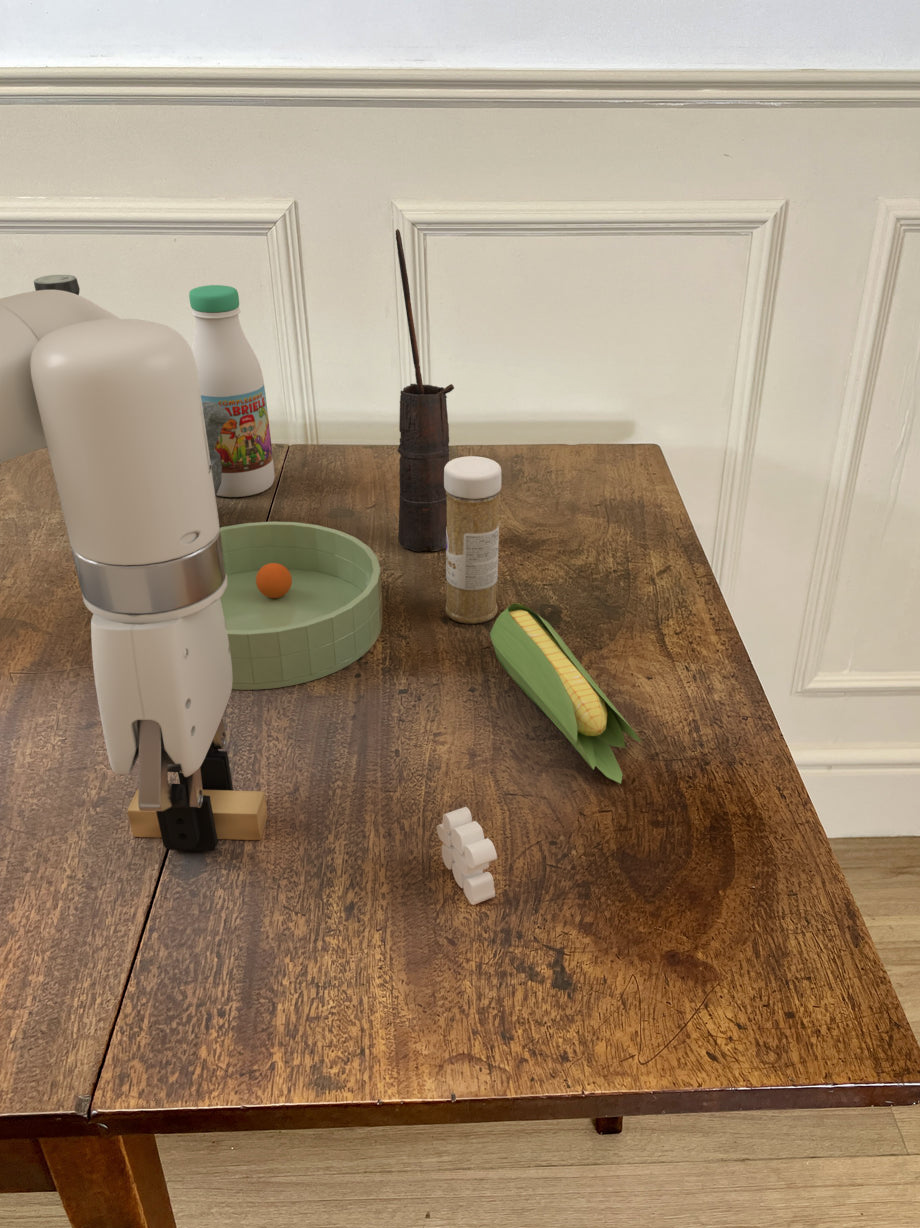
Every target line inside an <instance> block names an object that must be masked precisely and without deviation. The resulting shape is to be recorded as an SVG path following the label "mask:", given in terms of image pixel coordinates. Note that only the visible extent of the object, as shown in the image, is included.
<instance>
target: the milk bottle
mask: <svg viewBox="0 0 920 1228" xmlns="http://www.w3.org/2000/svg"><path fill="white" fill-rule="evenodd" d="M188 298H189V299H188V300H189V304H190V307H191V315H192V316H194V324H195V325H194V333H193V339H192V343H191V346H190V348H191V350H192V352H193V355H194V358H195V362H196V367H197V373H198V379H199V386H200V393H201V400H202V403H203V402H205V401H209V402H214V403H216V404H218V405H220V406H222V407H223V408H225V409H226V410H227V411H228V413H229V414H230V418H229V420H228V422H226V423H225V424H224V425H223V427H222V430H221V433H220V435H219V438H218V441H217V443H216V446H215V450H216V451H217V452H218V453H219V454H220V458H221V465H222V478H221V485H220V487H219V490H218V492H217V494H216V496H218V497H225V498H239V497H240V498H241V497H249V496H254V495H257V494H260V493H263V492H265V491H266V490H268V489H270V488H271V487H272V486H273V484H274V481H275V479H276V475H275V467H274V465H275V464H274V457H273V456H274V455H273V447H272V446H273V445H272V439H271V438H272V437H271V430H270V428H271V427H270V421H269V412H268V403H267V402H268V401H267V396H266V389H265V388H266V387H265V381H264V376H263V371H262V367H261V365H260V362H259V359H258V357H257V355H256V353H255V351H254V350H253V348H252V346H251V345H250V343H249V341H248V338H247V337H246V335H245V333H244V330H243V328H242V325H241V323H240V319H239V314H240V313H241V309H240V296H239V292H238V289H236V287H233V286H229V285H222V284H209V285H208V284H207V285H201V286H197V287H194V288H192V289H191V290H189V293H188Z"/></svg>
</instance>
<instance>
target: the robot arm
mask: <svg viewBox="0 0 920 1228" xmlns="http://www.w3.org/2000/svg"><path fill="white" fill-rule="evenodd" d="M43 449H47V452H48V455H49V460H50V463H51V464H50V465H51V468H52V472H53V473H52V474H53V476H54V477H53V478H54V481H55V485H56V490H57V494H58V499H59V502H60V503H59V504H60V507H61V511H62V515H63V519H64V524H65V528H66V531H67V537H68V540H69V545H70V549H71V553H72V558H73V562H74V566H75V571H76V576H77V579H78V584H79V588H80V592H81V596H82V600H83V604H84V605H85V607H86V609H87V610H88V611H90V612H91V613H92V616H91V619H90V636H91V637H90V639H91V641H90V642H91V655H92V656H91V657H92V668H93V677H94V684H95V691H96V697H97V703H98V711H99V716H100V722H101V728H102V733H103V738H104V743H105V747H106V753H107V758H108V761H109V765H110V768H111V770H112V772H113V773H114V774H115V775H116V776H120V777H121V776H130V774H131V773H132V771H133V769H134V767H135V764H136V763H137V761H138V783H137V784H138V787H137V789H138V806H139V810H140V811H156V813H157V818H158V822H159V827H160V831H161V836H162V838H161V839H162V845H163V847H164V848H165V849H166V850H169V851H194V852H197V851H198V852H213V851H215V850H216V848H217V845H218V842H219V839H217V833H216V828H215V822H214V817H213V811H212V805H211V800H210V796H206V795H203V790H231V791H234V785H233V779H232V772H231V768H230V767H231V766H230V761H229V754H228V751H227V750H224V749H225V748H226V743H227V733H226V729H225V725H224V724H225V723H224V720H223V715H224V714H225V711H226V709H227V706H228V704H229V701H230V698H231V694H232V690H233V689H232V683H233V675H232V663H231V654H230V647H229V641H228V635H227V629H226V624H225V619H224V614H223V609H222V604H221V600H220V597H221V596H222V595H223V594H224V593H225V590H226V588H227V582H228V581H227V574H226V568H225V561H224V554H223V547H222V540H221V533H220V528H221V527H220V518H219V512H218V506H217V498H216V497H215V491H214V484H213V477H212V470H211V463H210V456H209V449H208V442H207V435H206V428H205V421H204V414H203V407H202V400H201V393H200V386H199V379H198V373H197V367H196V362H195V358H194V355H193V352H192V350H191V346H190V344H189V343H188V341H187V340H186V338H184V336H183V335H182V334H181V333H180V332H178V331H177V330H175V329H173V328H172V327H170V326H168V325H166V324H163V323H159V322H154V321H150V320H145V319H137V318H121V317H119V316H117V315H116V314H114V313H112V312H110V311H108V310H106V309H105V308H103V307H102V306H100V305H98V304H97V303H95V302H93V301H92V300H90V299H87V298H85V297H83V296H81V295H80V294H79V295H76V294H74V293H70V292H66V291H61V290H39V291H36V290H32V291H27V292H23V293H18V294H13V295H9V296H4V297H1V298H0V465H1V464H3V463H6V462H8V461H11V460H14V459H17V458H20V457H22V456H25V455H29V454H30V453H34V452H36V451H40V450H43ZM169 773H177V776H178V781H179V782H178V783H170V782H169Z"/></svg>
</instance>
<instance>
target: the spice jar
mask: <svg viewBox="0 0 920 1228" xmlns="http://www.w3.org/2000/svg"><path fill="white" fill-rule="evenodd" d="M444 488H445V490H446V495H447V527H446V548H445V578H446V603H445V613H446V615H447V616H448V618H451V619H452V620H453V621H455V622H458V623H461V624H467V625H468V624H480V623H486V622H488V621H491V620H492V619H494V618H495V616H496V615H497V614H498V605H497V582H498V578H499V575H498V573H499V547H500V545H499V543H500V541H499V540H500V522H499V515H500V514H499V507H500V506H499V505H500V495H501V489H502V467H501V465H500V463H498V462H497V461H495V460H494V459H491V458H488V457H483V456H477V455H472V456H461V457H456V458H453V459H451V460H449V462H448V463H447V464H446V465H445V468H444Z"/></svg>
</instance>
